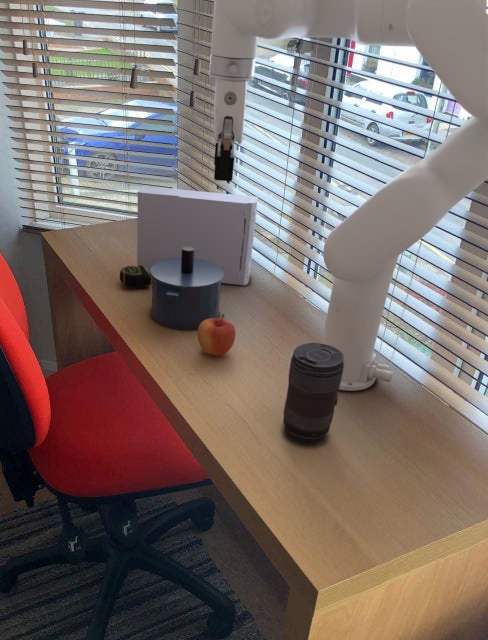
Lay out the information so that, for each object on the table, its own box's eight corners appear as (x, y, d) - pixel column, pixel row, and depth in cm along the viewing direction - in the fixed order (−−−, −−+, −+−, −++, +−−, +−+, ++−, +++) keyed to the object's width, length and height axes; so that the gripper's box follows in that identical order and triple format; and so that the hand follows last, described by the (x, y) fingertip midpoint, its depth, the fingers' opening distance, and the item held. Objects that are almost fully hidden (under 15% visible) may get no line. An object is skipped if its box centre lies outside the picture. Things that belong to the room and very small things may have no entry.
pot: (227, 302, 148) (231, 262, 143) (203, 340, 132) (206, 297, 127) (168, 291, 151) (169, 252, 146) (137, 327, 135) (137, 285, 130)
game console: (247, 286, 156) (256, 204, 145) (136, 274, 159) (137, 192, 148) (249, 277, 161) (258, 196, 150) (141, 265, 163) (142, 185, 152)
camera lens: (295, 412, 112) (309, 336, 104) (337, 432, 108) (355, 353, 100) (270, 433, 107) (282, 353, 99) (313, 454, 103) (329, 373, 94)
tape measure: (152, 289, 152) (152, 274, 150) (123, 292, 150) (123, 276, 148) (144, 278, 157) (144, 263, 155) (116, 280, 155) (116, 265, 153)
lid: (231, 269, 141) (233, 242, 138) (212, 296, 129) (214, 267, 126) (164, 258, 145) (165, 231, 141) (139, 283, 132) (139, 255, 129)
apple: (188, 353, 128) (190, 316, 123) (211, 340, 132) (214, 304, 128) (218, 366, 124) (221, 329, 119) (240, 353, 129) (244, 317, 124)
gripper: (257, 77, 102) (245, 188, 111) (251, 63, 116) (241, 162, 125) (209, 73, 101) (201, 184, 111) (209, 60, 116) (202, 159, 125)
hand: (222, 172), depth 118 cm, fingers open, 9 cm apart
